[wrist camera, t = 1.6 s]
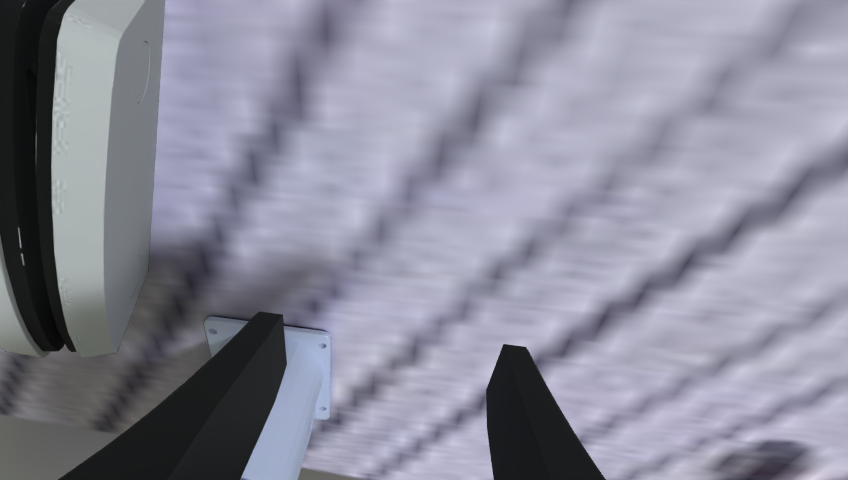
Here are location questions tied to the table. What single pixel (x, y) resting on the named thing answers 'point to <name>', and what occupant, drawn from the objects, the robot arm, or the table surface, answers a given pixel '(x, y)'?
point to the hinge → (76, 169)
